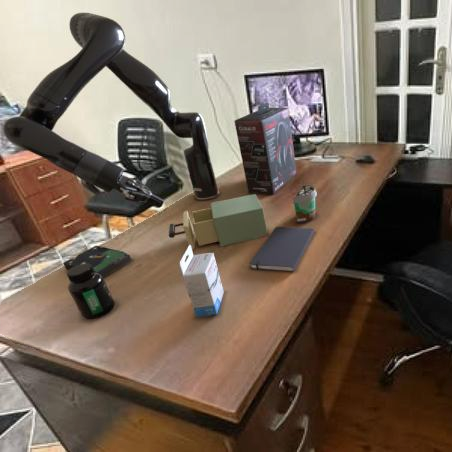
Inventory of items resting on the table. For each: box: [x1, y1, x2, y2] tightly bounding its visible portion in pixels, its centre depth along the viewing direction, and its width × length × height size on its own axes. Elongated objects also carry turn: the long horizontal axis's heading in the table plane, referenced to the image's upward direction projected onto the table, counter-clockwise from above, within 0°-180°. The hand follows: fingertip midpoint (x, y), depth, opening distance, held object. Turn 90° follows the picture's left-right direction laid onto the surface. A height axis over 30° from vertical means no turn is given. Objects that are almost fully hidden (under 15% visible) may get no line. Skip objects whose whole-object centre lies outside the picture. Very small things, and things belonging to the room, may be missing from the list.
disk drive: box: [63, 245, 132, 278], centre depth 101 cm, size 10×3×15 cm
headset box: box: [233, 101, 297, 195], centre depth 144 cm, size 25×12×33 cm, turn 162°
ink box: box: [178, 244, 225, 318], centre depth 79 cm, size 9×5×15 cm, turn 5°
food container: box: [292, 183, 318, 224], centre depth 118 cm, size 12×6×10 cm, turn 168°
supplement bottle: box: [66, 264, 116, 321], centre depth 81 cm, size 7×7×12 cm
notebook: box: [249, 226, 315, 273], centre depth 103 cm, size 13×2×21 cm
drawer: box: [168, 207, 219, 250], centre depth 109 cm, size 18×11×8 cm, turn 111°
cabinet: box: [210, 193, 268, 247], centre depth 112 cm, size 15×13×10 cm
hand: (162, 204), depth 101 cm, fingers closed
